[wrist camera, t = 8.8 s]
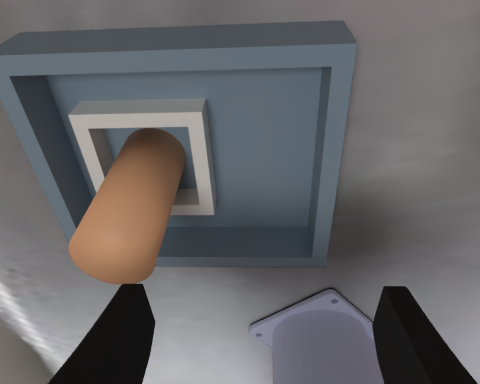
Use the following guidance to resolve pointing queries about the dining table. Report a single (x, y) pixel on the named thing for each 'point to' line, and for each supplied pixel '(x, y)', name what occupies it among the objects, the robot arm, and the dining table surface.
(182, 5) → the dining table surface
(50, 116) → the tray box
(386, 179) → the dining table surface
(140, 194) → the peg
